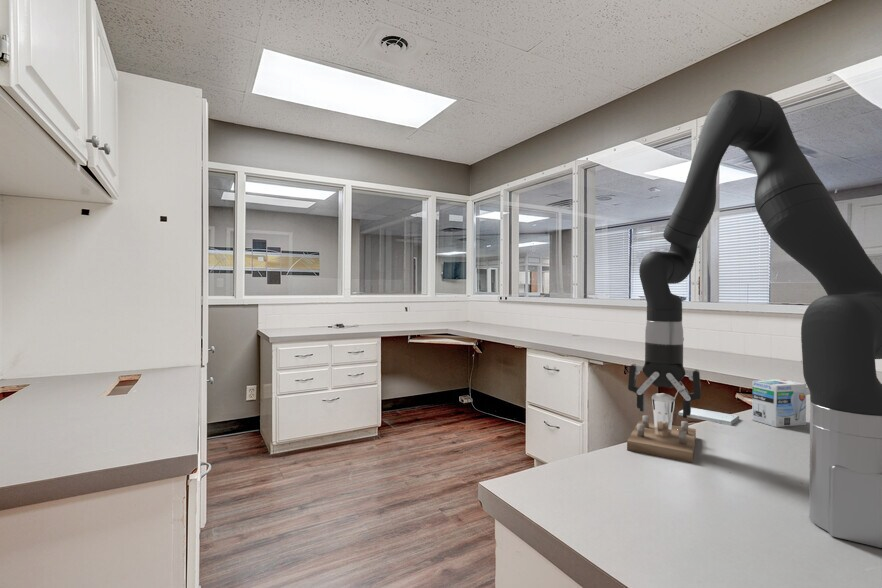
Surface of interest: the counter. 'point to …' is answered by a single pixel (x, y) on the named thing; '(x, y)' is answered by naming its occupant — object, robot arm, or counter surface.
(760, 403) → the light bulb box
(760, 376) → the counter surface
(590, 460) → the counter surface
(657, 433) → the milkshake
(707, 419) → the hard drive
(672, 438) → the peg plinth
